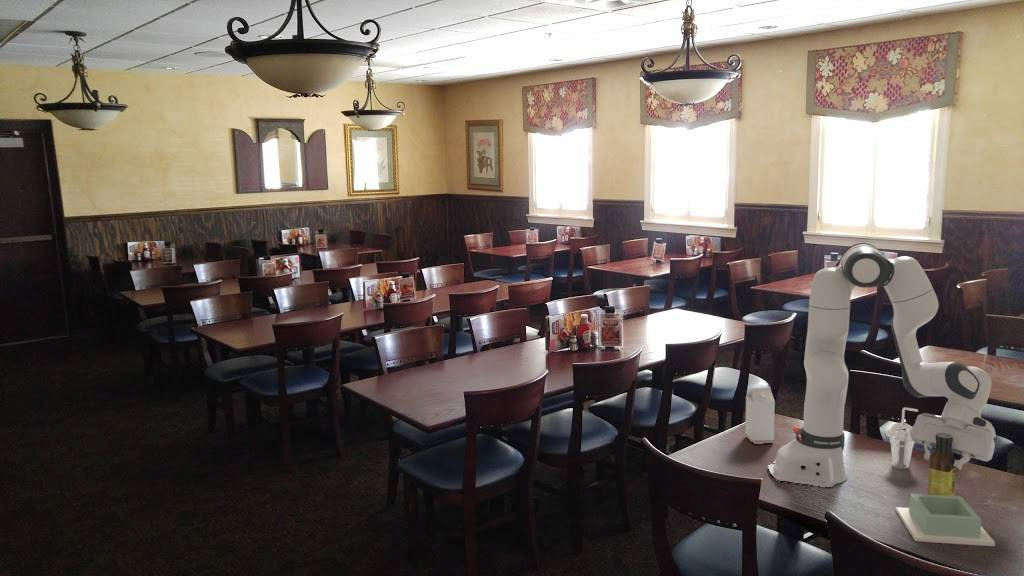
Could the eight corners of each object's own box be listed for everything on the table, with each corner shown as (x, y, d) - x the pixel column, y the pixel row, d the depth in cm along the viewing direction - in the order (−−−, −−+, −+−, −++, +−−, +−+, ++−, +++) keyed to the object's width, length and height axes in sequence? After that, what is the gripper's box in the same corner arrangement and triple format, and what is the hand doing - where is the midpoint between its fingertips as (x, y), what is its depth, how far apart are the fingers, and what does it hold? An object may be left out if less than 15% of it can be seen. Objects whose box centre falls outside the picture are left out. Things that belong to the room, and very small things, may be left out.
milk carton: (745, 437, 251) (746, 385, 248) (764, 435, 252) (766, 383, 248) (753, 445, 244) (754, 391, 241) (773, 443, 245) (775, 390, 241)
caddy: (915, 541, 182) (916, 519, 181) (895, 510, 198) (896, 490, 197) (994, 546, 179) (996, 523, 177) (968, 514, 194) (970, 493, 193)
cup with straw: (908, 460, 228) (912, 399, 225) (921, 472, 220) (926, 409, 216) (880, 459, 229) (884, 399, 226) (892, 472, 220) (896, 409, 217)
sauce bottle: (956, 509, 197) (962, 440, 193) (931, 508, 198) (937, 439, 195) (947, 498, 203) (953, 431, 200) (923, 496, 205) (928, 430, 201)
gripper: (916, 405, 209) (899, 447, 205) (997, 424, 193) (980, 469, 189) (922, 416, 212) (905, 457, 208) (1002, 436, 196) (985, 480, 192)
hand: (941, 463), depth 198 cm, fingers closed on sauce bottle, 6 cm apart
